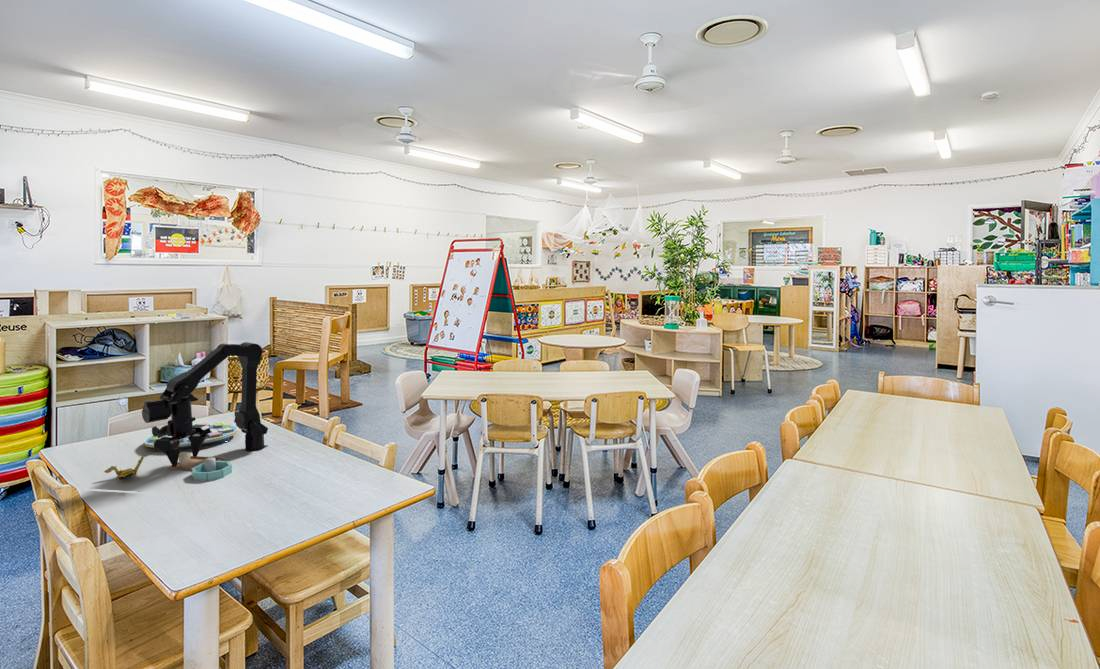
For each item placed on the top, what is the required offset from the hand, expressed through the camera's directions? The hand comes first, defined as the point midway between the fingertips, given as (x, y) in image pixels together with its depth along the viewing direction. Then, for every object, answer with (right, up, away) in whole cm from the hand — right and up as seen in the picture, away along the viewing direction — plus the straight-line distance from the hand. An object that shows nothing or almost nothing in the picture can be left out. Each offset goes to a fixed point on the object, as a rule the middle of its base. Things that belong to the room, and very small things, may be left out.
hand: (185, 461), depth 188 cm
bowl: (+13, -3, -6) cm, 14 cm away
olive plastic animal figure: (-12, -4, -9) cm, 16 cm away
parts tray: (+2, -2, +3) cm, 4 cm away
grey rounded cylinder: (+11, -3, -5) cm, 13 cm away
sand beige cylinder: (0, -2, 0) cm, 2 cm away
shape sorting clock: (-15, +1, +28) cm, 32 cm away
